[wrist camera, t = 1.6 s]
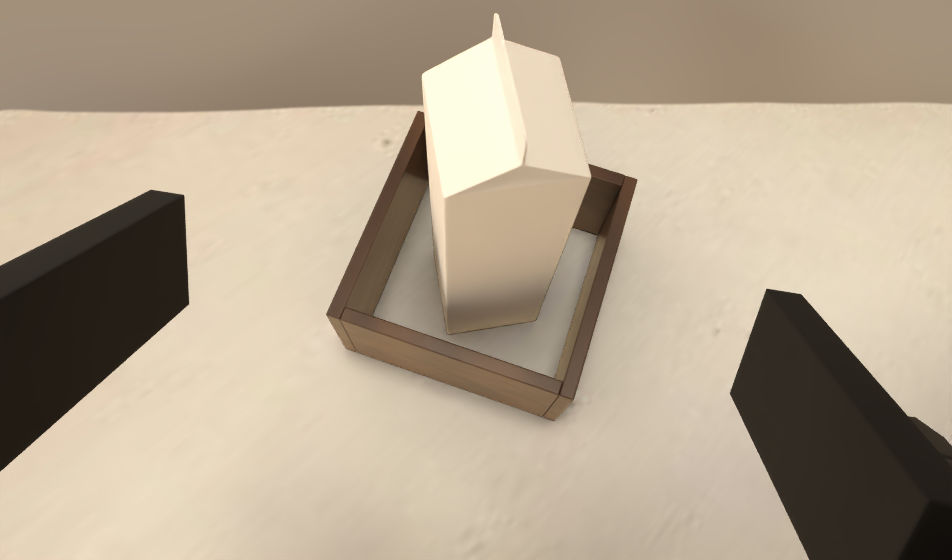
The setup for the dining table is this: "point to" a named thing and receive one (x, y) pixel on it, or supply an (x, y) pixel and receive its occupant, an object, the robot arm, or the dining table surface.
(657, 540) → the dining table surface
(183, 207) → the robot arm
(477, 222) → the milk
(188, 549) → the dining table surface
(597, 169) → the caddy
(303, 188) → the dining table surface
